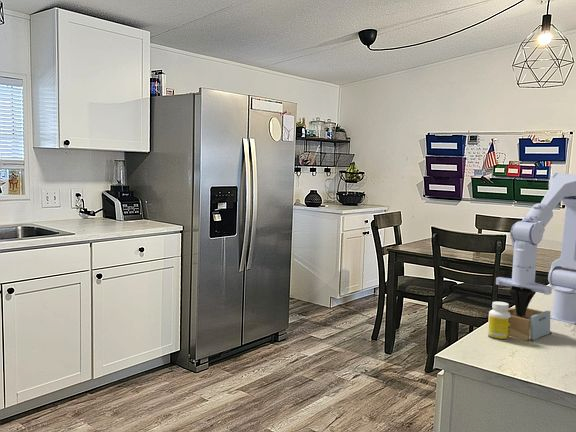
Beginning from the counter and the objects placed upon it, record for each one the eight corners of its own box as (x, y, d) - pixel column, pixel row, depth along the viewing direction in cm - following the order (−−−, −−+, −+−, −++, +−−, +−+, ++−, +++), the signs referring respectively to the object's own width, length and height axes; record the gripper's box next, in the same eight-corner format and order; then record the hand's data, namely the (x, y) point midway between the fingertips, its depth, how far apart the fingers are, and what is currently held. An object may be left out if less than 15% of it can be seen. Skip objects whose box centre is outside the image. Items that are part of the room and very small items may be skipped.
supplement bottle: (511, 343, 135) (513, 306, 134) (489, 342, 136) (491, 305, 136) (506, 337, 141) (509, 301, 140) (485, 335, 142) (487, 299, 141)
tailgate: (546, 332, 143) (547, 310, 142) (550, 333, 142) (551, 311, 142) (530, 339, 137) (530, 316, 136) (534, 339, 136) (534, 317, 136)
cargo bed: (516, 326, 151) (517, 305, 150) (552, 335, 143) (553, 313, 142) (494, 334, 143) (495, 312, 142) (530, 344, 135) (532, 321, 135)
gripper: (491, 263, 145) (488, 311, 146) (544, 272, 134) (540, 324, 135) (504, 260, 149) (501, 307, 151) (556, 269, 138) (553, 319, 140)
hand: (520, 315), depth 143 cm, fingers closed
